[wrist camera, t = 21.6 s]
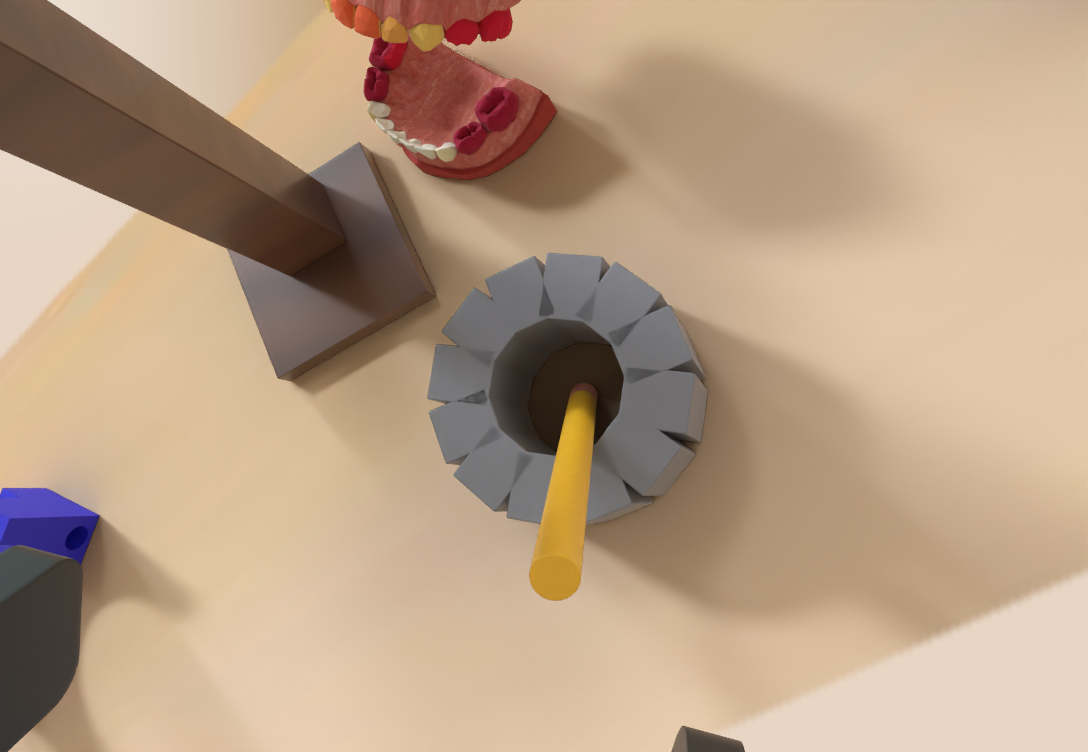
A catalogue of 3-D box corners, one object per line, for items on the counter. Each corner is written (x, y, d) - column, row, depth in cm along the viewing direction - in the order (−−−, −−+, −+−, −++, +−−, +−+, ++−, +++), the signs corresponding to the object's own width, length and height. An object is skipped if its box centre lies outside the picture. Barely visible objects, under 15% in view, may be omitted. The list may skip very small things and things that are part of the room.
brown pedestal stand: (227, 222, 50) (-657, -206, 19) (363, 136, 48) (-380, -491, 17) (296, 396, 47) (-624, 215, 16) (443, 311, 45) (-285, -74, 14)
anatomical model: (336, 154, 47) (235, -97, 34) (422, 70, 50) (360, -195, 36) (481, 236, 44) (434, -6, 31) (564, 140, 47) (554, -120, 33)
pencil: (580, 414, 42) (564, 392, 42) (603, 398, 42) (586, 376, 41) (549, 610, 22) (518, 571, 22) (591, 584, 22) (560, 544, 22)
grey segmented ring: (568, 242, 43) (535, 204, 38) (756, 377, 40) (751, 357, 34) (433, 422, 44) (380, 411, 38) (605, 571, 40) (575, 583, 35)
